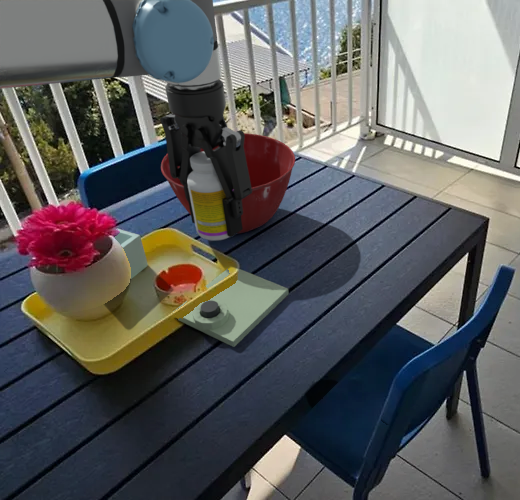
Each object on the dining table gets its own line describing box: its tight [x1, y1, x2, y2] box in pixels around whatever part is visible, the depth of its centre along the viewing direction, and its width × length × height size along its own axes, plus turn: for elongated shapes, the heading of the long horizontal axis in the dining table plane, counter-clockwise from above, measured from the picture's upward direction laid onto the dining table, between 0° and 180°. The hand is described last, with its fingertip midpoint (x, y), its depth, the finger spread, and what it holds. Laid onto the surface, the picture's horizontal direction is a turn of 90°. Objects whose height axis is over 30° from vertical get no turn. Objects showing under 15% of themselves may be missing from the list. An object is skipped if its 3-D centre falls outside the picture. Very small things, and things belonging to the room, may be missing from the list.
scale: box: [172, 268, 290, 348], centre depth 92 cm, size 16×14×3 cm
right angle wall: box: [115, 228, 149, 280], centre depth 97 cm, size 12×12×8 cm
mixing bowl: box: [160, 132, 296, 235], centre depth 113 cm, size 28×28×15 cm
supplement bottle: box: [187, 151, 234, 241], centre depth 77 cm, size 7×7×13 cm
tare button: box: [201, 301, 219, 318], centre depth 87 cm, size 3×3×2 cm
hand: (217, 225), depth 80 cm, fingers closed on supplement bottle, 7 cm apart
